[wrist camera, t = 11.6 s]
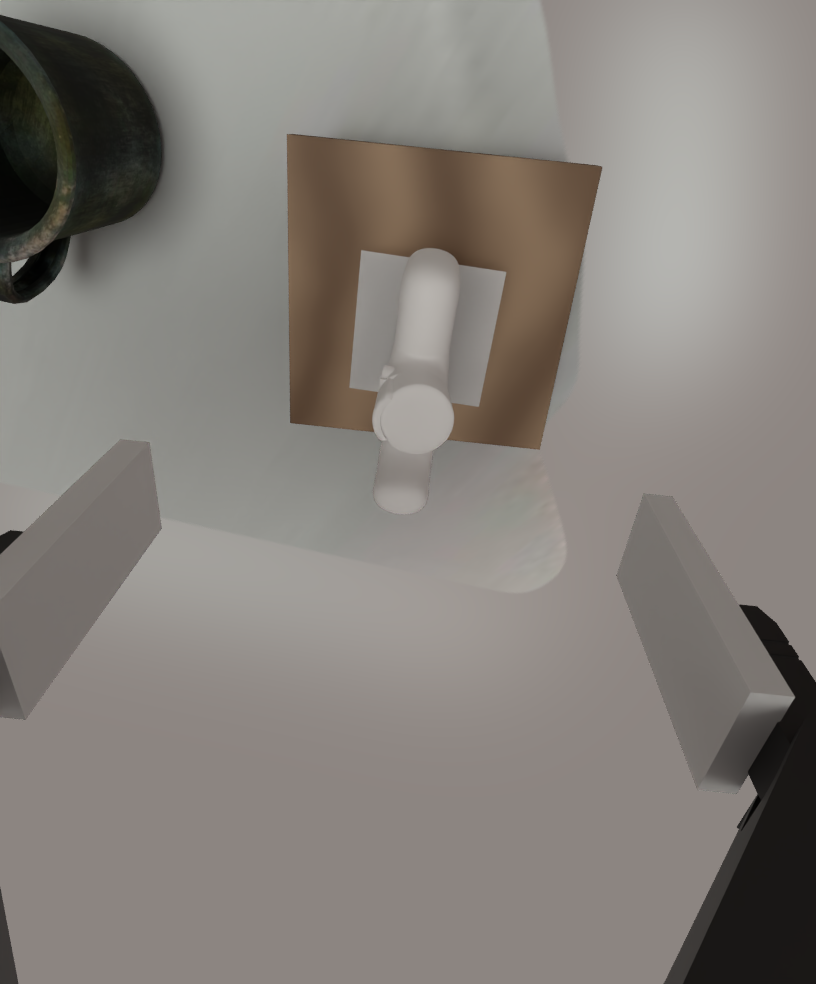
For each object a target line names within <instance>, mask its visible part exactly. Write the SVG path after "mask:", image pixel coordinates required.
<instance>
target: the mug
mask: <svg viewBox="0 0 816 984" xmlns="http://www.w3.org/2000/svg"><path fill="white" fill-rule="evenodd" d="M160 166H161V142H160V134H159V129H158V125H157V120H156V117H155V114H154V112H153V109H152V106H151V104H150V102H149V100H148V98H147V96H146V94H145V92H144V90H143V88H142V86H141V85H140V83H139V82H138V80H137V79H136V77H135V76H134V75H133V73H132V72H131V71H130V70H129V69H128V68H127V66H126V65H125V64H124V63H123V62H122V61H121V60H120V59H119V58H118V57H117V56H115V55H114V54H113V53H112V52H111V51H109V50H108V49H106V48H105V47H103V46H102V45H101V44H99V43H97V42H95V41H93V40H91V39H89V38H87V37H84V36H81V35H77V34H73V33H70V32H66V31H62V30H58V29H54V28H50V27H46V26H42V25H38V24H34V23H30V22H26V21H22V20H18V19H14V18H10V17H6V16H2V15H0V301H4V302H8V303H13V304H16V303H24V302H28V301H29V300H31V299H32V298H34V297H35V296H37V295H39V294H40V293H41V292H43V291H44V290H45V289H46V288H47V287H48V286H49V285H50V284H51V283H52V282H53V281H54V280H55V278H56V277H57V275H58V274H59V272H60V271H61V269H62V267H63V264H64V262H65V259H66V256H67V252H68V247H69V243H70V238H71V236H72V235H75V234H79V233H82V232H86V231H89V230H93V229H96V228H100V227H104V226H107V225H111V224H114V223H118V222H121V221H124V220H126V219H128V218H129V217H131V216H133V215H134V214H135V213H137V212H138V211H139V210H140V209H141V208H142V207H143V206H144V205H145V203H146V202H147V201H148V200H149V198H150V196H151V194H152V193H153V191H154V189H155V186H156V183H157V180H158V177H159V171H160ZM26 258H29V259H28V260H27V262H26V263H25V264H24V266H23V267H22V268H21V269H20V270H19V271H18V272H17V273H16V274H15V275H13V276H12V272H11V262H15V261H19V260H22V259H26Z"/></svg>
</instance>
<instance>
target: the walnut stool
mask: <svg viewBox="0 0 816 984" xmlns="http://www.w3.org/2000/svg"><path fill="white" fill-rule="evenodd" d="M601 171H602V167H601V166H596V165H588V164H578V163H568V162H559V161H549V160H539V159H530V158H520V157H510V156H500V155H491V154H481V153H471V152H462V151H452V150H442V149H432V148H423V147H413V146H403V145H394V144H384V143H374V142H364V141H355V140H345V139H335V138H326V137H316V136H306V135H296V134H287V176H288V263H289V349H290V423H295V424H305V425H314V426H324V427H333V428H342V429H352V430H361V431H370V432H374V429H373V424H372V415H373V410H374V407H375V403H376V398H377V394H378V392H374V391H367V390H361V389H354V388H349V386H350V374H351V363H352V351H353V340H354V328H355V316H356V305H357V293H358V282H359V270H360V259H361V250H364V251H370V252H377V253H384V254H390V255H397V256H404V257H410V256H411V255H412V254H413V253H414V252H416V251H417V250H420V249H424V248H436V249H441V250H444V251H446V252H448V253H450V254H451V255H453V256H454V257H455V259H456V260H457V262H458V264H459V265H464V266H470V267H477V268H484V269H490V270H497V271H504V272H506V277H505V282H504V287H503V292H502V296H501V301H500V306H499V311H498V316H497V321H496V326H495V331H494V335H493V340H492V345H491V350H490V355H489V360H488V365H487V369H486V374H485V379H484V384H483V389H482V394H481V399H480V404H479V407H476V406H469V405H463V404H456V403H452V407H453V411H454V425H453V428H452V431H451V433H450V435H449V437H448V438H447V440H455V441H464V442H474V443H483V444H492V445H502V446H511V447H521V448H530V449H539V450H540V446H541V441H542V436H543V432H544V427H545V423H546V418H547V414H548V409H549V405H550V400H551V396H552V391H553V387H554V382H555V378H556V373H557V369H558V364H559V360H560V355H561V351H562V346H563V342H564V337H565V333H566V328H567V324H568V319H569V315H570V310H571V306H572V301H573V297H574V292H575V288H576V283H577V279H578V274H579V270H580V265H581V261H582V256H583V252H584V247H585V243H586V238H587V234H588V229H589V225H590V220H591V216H592V211H593V206H594V202H595V197H596V193H597V189H598V184H599V180H600V175H601Z"/></svg>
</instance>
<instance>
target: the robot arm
mask: <svg viewBox="0 0 816 984" xmlns="http://www.w3.org/2000/svg"><path fill="white" fill-rule="evenodd" d="M161 529H162V528H161V520H160V513H159V506H158V499H157V492H156V485H155V478H154V471H153V464H152V457H151V450H150V443H149V442H141V441H131V440H122V439H120V440H119V441H118V442H117V443H116V444H115V445H114V446H113V447H112V448H111V449H110V450H109V451H108V452H107V453H106V454H105V455H104V456H103V457H102V458H101V459H100V460H98V461H97V462H96V463H95V464H94V465H93V466H92V467H91V468H90V469H89V470H88V471H87V472H86V473H85V474H84V475H83V476H82V477H81V478H80V479H79V480H78V481H77V482H75V483H74V484H73V485H72V486H71V487H70V488H69V489H68V490H67V491H66V492H65V493H64V494H63V495H62V496H61V497H60V498H59V499H58V500H57V501H56V502H55V503H54V504H53V505H51V506H50V507H49V508H48V509H47V511H45V512H44V513H43V514H42V515H41V516H40V517H39V518H38V519H37V520H36V521H35V522H34V523H33V524H32V525H31V526H30V527H29V528H28V529H26V530H25V531H24V532H22V531H11V530H10V531H8V532H6V533H5V534H3V535H1V536H0V717H4V718H14V719H23V720H25V719H26V718H27V717H28V715H29V714H30V713H31V711H32V710H33V709H34V707H35V706H36V704H37V703H38V702H39V700H40V699H41V697H42V696H43V695H44V693H45V692H46V690H47V689H48V688H49V686H50V685H51V683H52V682H53V680H54V679H55V678H56V676H57V675H58V673H59V672H60V671H61V669H62V668H63V666H64V665H65V664H66V662H67V661H68V659H69V658H70V657H71V655H72V654H73V652H74V651H75V650H76V648H77V647H78V645H79V644H80V642H81V641H82V639H83V638H84V637H85V635H86V634H87V633H88V631H89V630H90V628H91V627H92V626H93V624H94V623H95V621H96V620H97V619H98V617H99V616H100V614H101V613H102V612H103V610H104V609H105V607H106V606H107V605H108V603H109V601H110V600H111V599H112V597H113V596H114V595H115V593H116V592H117V590H118V589H119V588H120V586H121V584H122V583H123V582H124V581H125V579H126V577H127V576H128V575H129V573H130V572H131V571H132V569H133V568H134V566H135V565H136V564H137V562H138V561H139V559H140V558H141V557H142V555H143V554H144V552H145V551H146V550H147V548H148V547H149V545H150V544H151V543H152V541H153V540H154V538H155V537H156V536H157V534H158V533H159V531H160V530H161ZM616 576H617V578H618V581H619V584H620V586H621V589H622V592H623V594H624V597H625V600H626V602H627V605H628V607H629V610H630V613H631V615H632V618H633V621H634V623H635V626H636V629H637V631H638V634H639V636H640V639H641V642H642V645H643V647H644V650H645V652H646V655H647V658H648V660H649V663H650V666H651V668H652V671H653V673H654V676H655V679H656V682H657V684H658V686H659V689H660V692H661V695H662V697H663V700H664V703H665V705H666V708H667V711H668V713H669V716H670V719H671V721H672V724H673V727H674V729H675V731H676V734H677V737H678V739H679V742H680V745H681V748H682V750H683V753H684V756H685V758H686V761H687V763H688V766H689V769H690V771H691V774H692V777H693V779H694V782H695V785H696V787H697V790H703V791H713V792H723V793H732V794H737V793H738V791H739V789H740V788H741V786H742V784H743V783H744V781H745V779H746V778H747V776H748V774H749V776H750V778H751V780H752V782H753V785H754V787H755V789H756V791H757V793H758V794H757V796H756V798H755V799H754V801H753V802H752V804H751V805H750V807H749V809H748V810H747V812H746V813H745V815H744V816H743V818H742V820H741V821H740V823H739V824H738V826H737V828H739V830H738V833H737V835H736V837H735V839H734V841H733V843H732V845H731V847H730V849H729V851H728V853H727V855H726V857H725V859H724V861H723V863H722V865H721V867H720V870H719V872H718V874H717V876H716V878H715V880H714V882H713V884H712V886H711V888H710V890H709V892H708V894H707V896H706V898H705V900H704V902H703V904H702V907H701V909H700V911H699V913H698V915H697V917H696V919H695V921H694V923H693V925H692V927H691V929H690V931H689V933H688V935H687V937H686V939H685V941H684V943H683V946H682V948H681V950H680V952H679V954H678V956H677V958H676V960H675V962H674V964H673V966H672V968H671V970H670V972H669V974H668V976H667V979H666V981H665V983H664V984H816V682H815V680H814V679H813V677H812V676H811V675H810V673H809V671H808V670H807V668H806V667H805V665H804V664H803V662H802V661H801V660H799V659H798V657H799V656H798V655H797V653H796V652H795V650H794V649H793V647H792V646H791V645H789V644H788V643H789V641H788V640H787V638H786V637H785V635H784V634H783V632H782V631H781V629H780V628H779V626H778V625H777V623H776V622H775V621H773V620H772V619H771V618H770V617H769V616H767V615H766V614H765V613H764V612H763V611H762V610H760V609H759V608H758V607H756V606H748V605H739V604H738V603H737V601H736V600H735V598H734V596H733V595H732V593H731V591H730V590H729V588H728V586H727V585H726V583H725V582H724V580H723V578H722V577H721V575H720V573H719V572H718V570H717V568H716V567H715V565H714V564H713V562H712V561H711V559H710V557H709V555H708V554H707V552H706V550H705V549H704V547H703V546H702V544H701V542H700V541H699V539H698V537H697V536H696V534H695V532H694V531H693V529H692V527H691V526H690V524H689V523H688V521H687V519H686V518H685V516H684V514H683V513H682V511H681V509H680V508H679V506H678V505H677V503H676V501H675V500H674V498H673V497H672V496H661V495H652V494H643V497H642V500H641V503H640V507H639V510H638V513H637V515H636V519H635V521H634V524H633V527H632V530H631V534H630V536H629V539H628V542H627V546H626V549H625V551H624V554H623V557H622V560H621V563H620V566H619V569H618V572H617V575H616ZM0 984H18V979H17V974H16V968H15V963H14V958H13V953H12V947H11V942H10V937H9V931H8V926H7V921H6V916H5V910H4V905H3V900H2V894H1V889H0Z"/></svg>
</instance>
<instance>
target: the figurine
mask: <svg viewBox="0 0 816 984" xmlns="http://www.w3.org/2000/svg"><path fill="white" fill-rule="evenodd" d="M505 277H506V272H504V271H497V270H490V269H484V268H477V267H470V266H464V265H459V264H458V262H457V260H456V259H455V257H454V256H453V255H451V254H450V253H448V252H446V251H444V250H441V249H436V248H424V249H420V250H417V251H416V252H414V253H413V254H412V255H411V256H410V257H404V256H397V255H390V254H384V253H377V252H370V251H364V250H361V259H360V270H359V282H358V293H357V305H356V316H355V328H354V340H353V351H352V363H351V374H350V386H349V388H354V389H361V390H367V391H374V392H378V394H377V398H376V403H375V407H374V410H373V415H372V424H373V429H374V432H375V434H376V436H377V438H378V439H379V440H381V441H382V442H381V447H380V452H379V459H378V466H377V472H376V477H375V482H374V487H373V496H374V500H375V501H376V503H377V504H378V505H379V506H380V507H381V508H382V509H384V510H386V511H388V512H391V513H395V514H412V513H416V512H418V511H419V510H421V509H422V508H423V507H424V506H425V504H426V502H427V499H428V493H429V481H430V472H431V466H432V457H433V450H435V449H437V448H438V447H440V446H441V445H442V444H443V443H444V442H445V441H446V440H447V438H448V437H449V435H450V433H451V431H452V428H453V425H454V411H453V407H452V403H456V404H463V405H469V406H476V407H479V404H480V399H481V394H482V389H483V384H484V379H485V374H486V369H487V365H488V360H489V355H490V350H491V345H492V340H493V335H494V331H495V326H496V321H497V316H498V311H499V306H500V301H501V296H502V292H503V287H504V282H505Z"/></svg>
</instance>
